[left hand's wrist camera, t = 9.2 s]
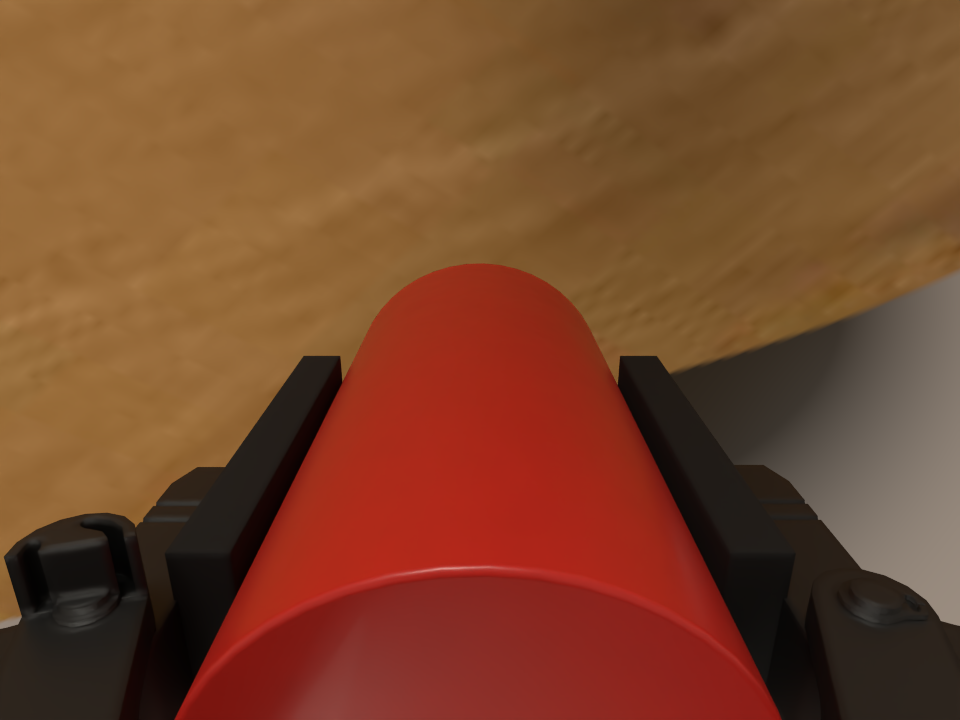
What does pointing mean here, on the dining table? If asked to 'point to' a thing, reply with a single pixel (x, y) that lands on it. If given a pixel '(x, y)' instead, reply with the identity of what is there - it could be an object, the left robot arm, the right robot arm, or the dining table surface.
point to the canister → (478, 539)
